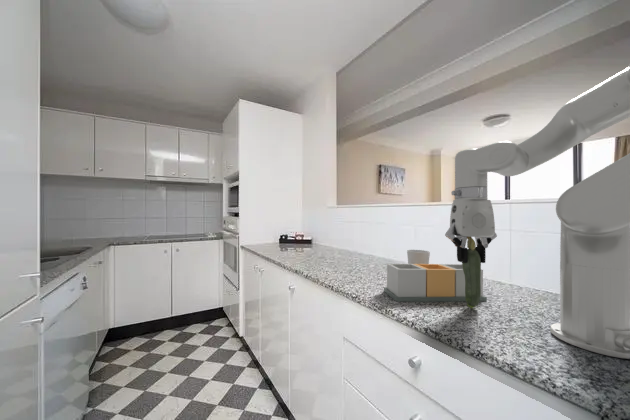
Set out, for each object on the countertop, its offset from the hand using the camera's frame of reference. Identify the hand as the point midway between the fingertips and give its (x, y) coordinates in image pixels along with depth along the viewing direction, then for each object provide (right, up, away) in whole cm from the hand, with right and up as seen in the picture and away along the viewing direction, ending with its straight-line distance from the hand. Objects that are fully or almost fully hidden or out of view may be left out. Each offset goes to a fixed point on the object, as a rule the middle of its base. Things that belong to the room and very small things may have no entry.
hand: (471, 261), depth 66 cm
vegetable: (0, -13, 0) cm, 13 cm away
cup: (-4, -14, +26) cm, 29 cm away
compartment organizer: (-5, -13, +10) cm, 18 cm away
